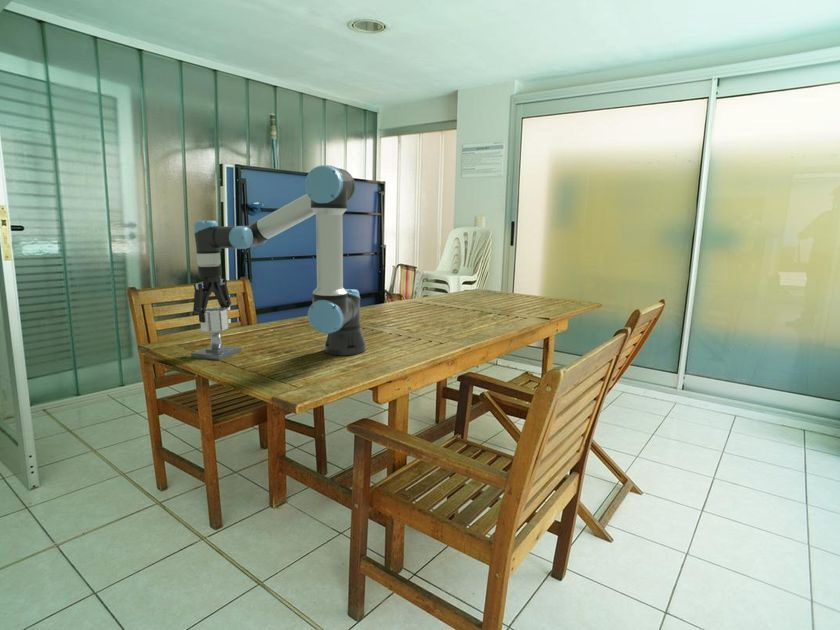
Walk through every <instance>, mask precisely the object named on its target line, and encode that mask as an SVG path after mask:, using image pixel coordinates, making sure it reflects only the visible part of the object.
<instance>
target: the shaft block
mask: <svg viewBox="0 0 840 630" xmlns="http://www.w3.org/2000/svg"><path fill="white" fill-rule="evenodd" d="M209 335H210V346H207V347H204V348H202V349H200V350H197V351H193V352H191V353H190V354H191V355H190V356H191V358H193V359H194V358H196V359H206V360H213V361H214V360H215V361H221V360H223V359H226V358H228V357H230V356H233V355H236V354H238V353H241V352H243V350H242V346H234V345H233V346H232V345H222V338H221V337H222V335H221V331H214V332H211V331H210V332H209Z"/></svg>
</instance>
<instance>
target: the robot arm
mask: <svg viewBox="0 0 840 630" xmlns="http://www.w3.org/2000/svg"><path fill="white" fill-rule="evenodd" d="M304 189H305V193H306V194H304V195H302V196H300V197H298V198H296V199H294V200H292V201H291V202H289V203H287V204H285V205H283V206H281V207H280V208H278V209H276V210H274V211H272V212H271V213H269V214H267V215H265V216H264V217H262V218H259V219H258V220H257V221H255V222H253V223H251V224H249V225H235V226H234V225H233V226H230V225H229V226H221V225H220V226H219V224H218V222H217V220H196V221H195V222H194V224H193V225H194V226H193V227H194V230H193V231H194V232H193V235H194V240H195V241H194V242H195V250H196V263H197V265H198V266H197V274H198V277H199V278H200V282H198V283H196V282H194V284H193V288H194V296H193V297H194V298H193V309H192V311H193V313H196V314H198V321H199V323H200V332H205V331H206V333H208V331H209V326H208V315H207V313H205V311H206V308H208V307H207V306H208V303H209V300H210V296H211V295H212V293H214V296H215V298H216V300H217V302H218V304H219V307H223V308H227V309H229V308H230V305H232V302H231V298H230V294H229V289H228V284H227V281H228V280H227V279H226V278H221V276H222V267H221V263H222V262H221V261H222V260H221V251H220V249H233V250H236V249H237V250H244V249H249V248H251V247H260V246H262V245H264V244H265V243H266V242H267V241H268V240H269V239H271V238H273V237H275V236H277V235H279V234H281V233H283V232H284V231H286V230H289V229H290V228H292V227H293V226H296V225H298V224H300V223H301V222H303V221H305V220H307V219H309V218H312V216H314V215H315V235H316V241H315V242H316V245H315V246H316V250H315V251H316V252H315V253H316V288H315V289H314V290H313V291H312V304H310V306H309V308H308V311H307V318H308V321H309V325H311V326H312V327H313V328H314V329H315V330H316V331H317V332H319V333H322V334H327V336H326V340H325V343H324V352H325V354H328V355H332V356H353V355H357V354H361V353H364V352H366V350H367V345H366V344H367V343H366V341H365V338H364V335H363V332H362V330H361V329H362V328H361V327H362V326H361V295H360V292H359V290H358V289H355V288H353V289H351V288H348V289H347V288H344V252H343V251H344V250H343V249H344V247H343V246H344V245H343V243H344V242H343V238H344V235H343V231H344V229H343V228H344V227H343V226H344V225H343V223H344V221H343V215H344V214H345V212H346V211H347V210H348V202H349V201H350V200H351V199H352V198H353V196H354V194H355V192H356V182H355V179H354V177H353V176H352V174H351V173H350V172H348V170H345V169H343V168H338V167H335V166H333V165H326V164H325V165H318V166H316V167H314V168H312V169H311V170H310V171H309V172H308V174H307V175H306V178H305V181H304Z"/></svg>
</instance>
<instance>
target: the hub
mask: <svg viewBox="0 0 840 630" xmlns="http://www.w3.org/2000/svg"><path fill="white" fill-rule="evenodd" d="M205 313H207V315H208V326H209V331H208V332H209V333H211V332H222V331H225V330H228V329H229V326H230V325H229V316H228V314H229V313H228V308H223V307H220V306H219V307H217V306H215V307H213V306H212V307H207V308H206V311H205ZM204 332H206V331H204ZM208 332H206V333H208Z"/></svg>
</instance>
